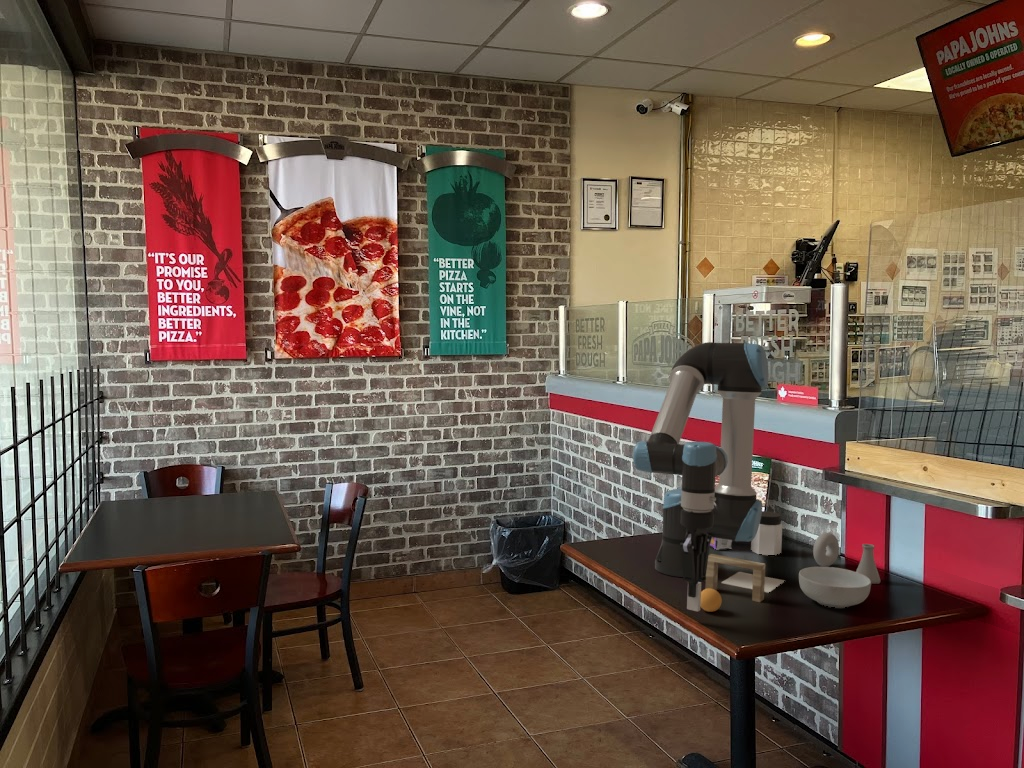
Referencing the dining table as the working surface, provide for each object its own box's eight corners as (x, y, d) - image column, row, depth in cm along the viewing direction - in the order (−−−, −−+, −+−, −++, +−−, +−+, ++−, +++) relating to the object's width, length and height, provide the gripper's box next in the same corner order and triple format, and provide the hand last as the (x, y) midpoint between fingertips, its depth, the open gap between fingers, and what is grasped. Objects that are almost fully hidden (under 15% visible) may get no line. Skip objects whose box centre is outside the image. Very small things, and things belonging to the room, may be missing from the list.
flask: (883, 585, 225) (885, 549, 224) (855, 583, 226) (857, 547, 225) (877, 578, 232) (879, 542, 231) (850, 576, 233) (851, 541, 233)
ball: (694, 611, 200) (695, 589, 200) (703, 605, 205) (704, 584, 205) (715, 616, 197) (716, 594, 197) (724, 610, 202) (725, 588, 201)
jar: (770, 557, 251) (772, 518, 250) (746, 552, 256) (748, 513, 256) (785, 552, 257) (787, 514, 256) (761, 547, 263) (762, 509, 262)
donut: (830, 562, 246) (832, 529, 246) (840, 565, 244) (842, 531, 243) (809, 567, 241) (811, 533, 240) (820, 570, 238) (821, 536, 237)
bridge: (759, 602, 209) (761, 566, 208) (705, 590, 217) (706, 556, 216) (763, 599, 211) (765, 563, 210) (709, 587, 219) (711, 553, 219)
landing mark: (721, 583, 224) (721, 582, 224) (739, 572, 234) (739, 571, 234) (769, 592, 216) (769, 592, 216) (785, 581, 227) (785, 580, 227)
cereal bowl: (787, 603, 208) (788, 575, 208) (811, 588, 221) (812, 562, 220) (857, 619, 197) (858, 590, 197) (878, 603, 210) (879, 575, 210)
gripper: (701, 516, 184) (697, 620, 185) (723, 507, 195) (719, 606, 196) (670, 511, 189) (666, 613, 190) (693, 502, 199) (690, 599, 200)
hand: (693, 609), depth 193 cm, fingers closed
